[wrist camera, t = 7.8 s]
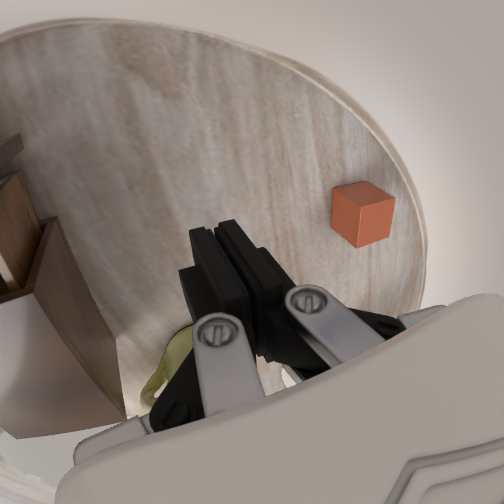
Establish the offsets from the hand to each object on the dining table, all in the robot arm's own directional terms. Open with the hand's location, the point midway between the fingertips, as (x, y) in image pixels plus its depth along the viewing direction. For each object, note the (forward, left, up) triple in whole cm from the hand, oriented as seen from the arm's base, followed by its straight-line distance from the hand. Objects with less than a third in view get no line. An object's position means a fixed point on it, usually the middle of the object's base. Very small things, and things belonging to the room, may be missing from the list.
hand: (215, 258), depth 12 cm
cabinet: (+9, -16, -14) cm, 22 cm away
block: (+8, +17, -14) cm, 23 cm away
